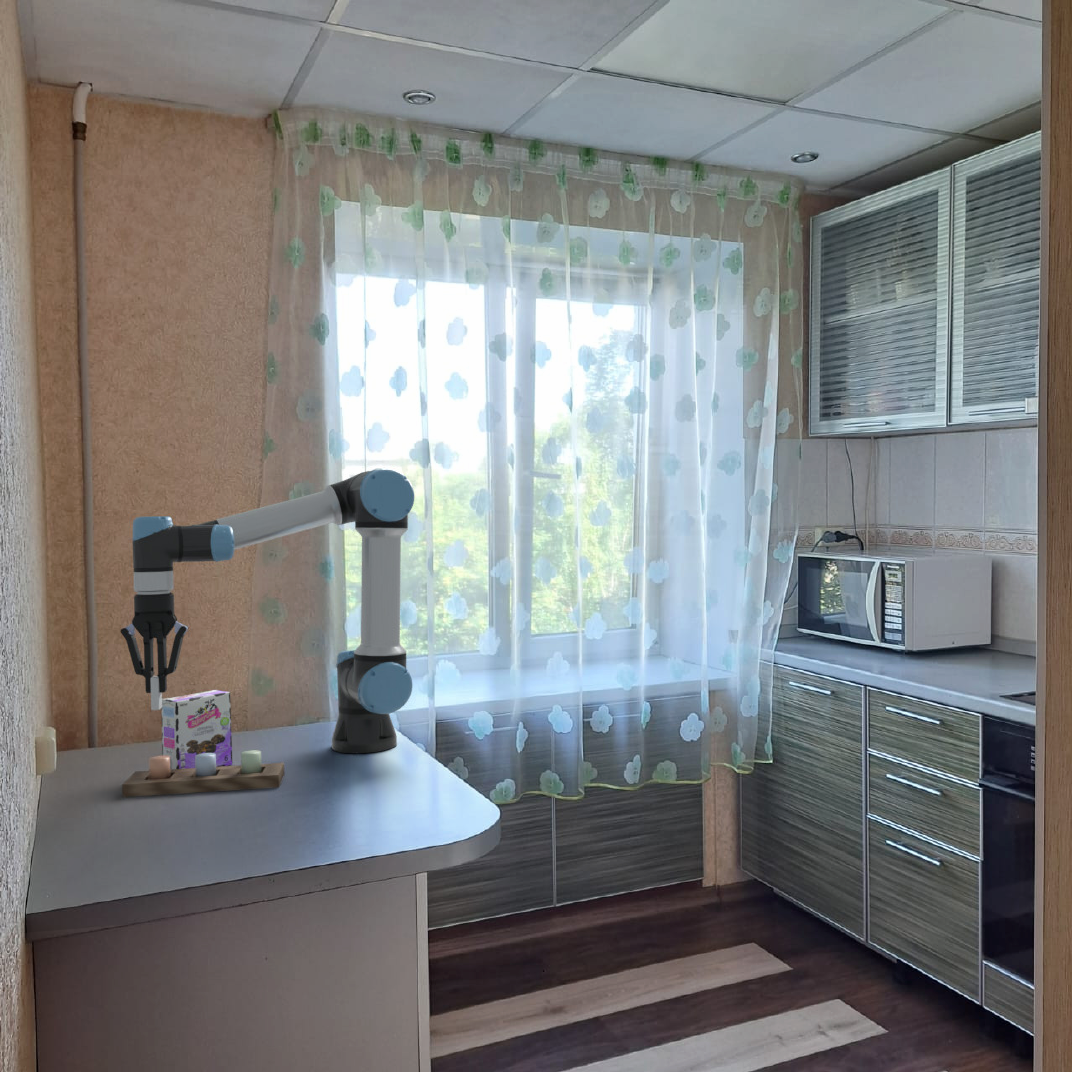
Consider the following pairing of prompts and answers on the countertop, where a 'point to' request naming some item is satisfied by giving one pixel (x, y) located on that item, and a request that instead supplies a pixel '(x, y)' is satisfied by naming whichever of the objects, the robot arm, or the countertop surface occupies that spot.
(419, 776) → the countertop surface
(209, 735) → the candy box
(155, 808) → the countertop surface
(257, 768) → the button sage
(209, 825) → the countertop surface
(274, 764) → the panel
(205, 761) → the button blue
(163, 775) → the button terracotta
